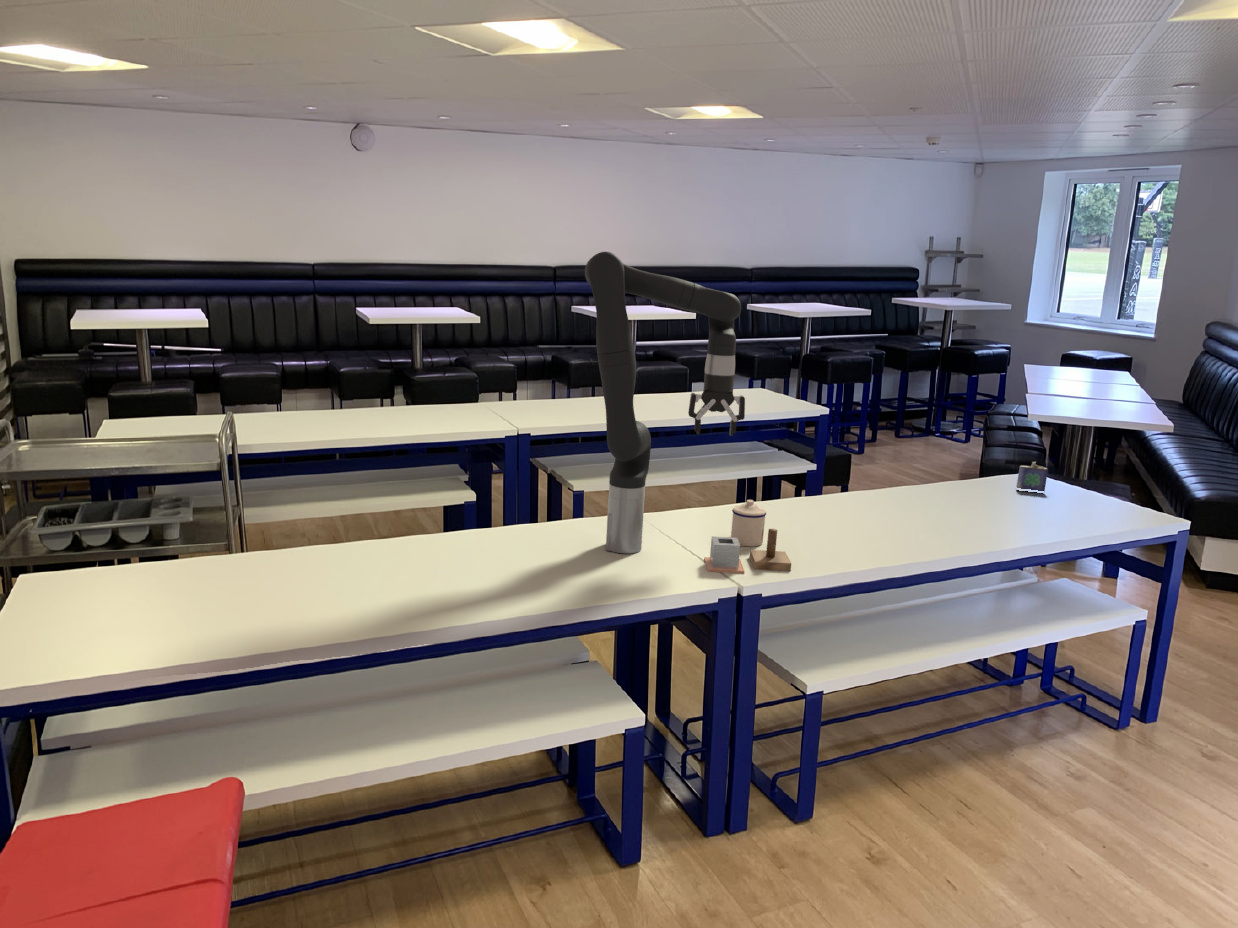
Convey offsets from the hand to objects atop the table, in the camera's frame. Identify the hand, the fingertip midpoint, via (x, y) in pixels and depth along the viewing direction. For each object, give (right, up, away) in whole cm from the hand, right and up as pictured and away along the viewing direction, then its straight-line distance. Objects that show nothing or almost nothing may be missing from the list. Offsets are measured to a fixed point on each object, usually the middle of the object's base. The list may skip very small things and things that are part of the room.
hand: (714, 434), depth 239 cm
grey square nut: (+1, -33, -9) cm, 34 cm away
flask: (+118, -18, +83) cm, 146 cm away
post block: (+13, -33, -5) cm, 36 cm away
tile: (+1, -33, -8) cm, 34 cm away
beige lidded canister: (+9, -29, +13) cm, 33 cm away
